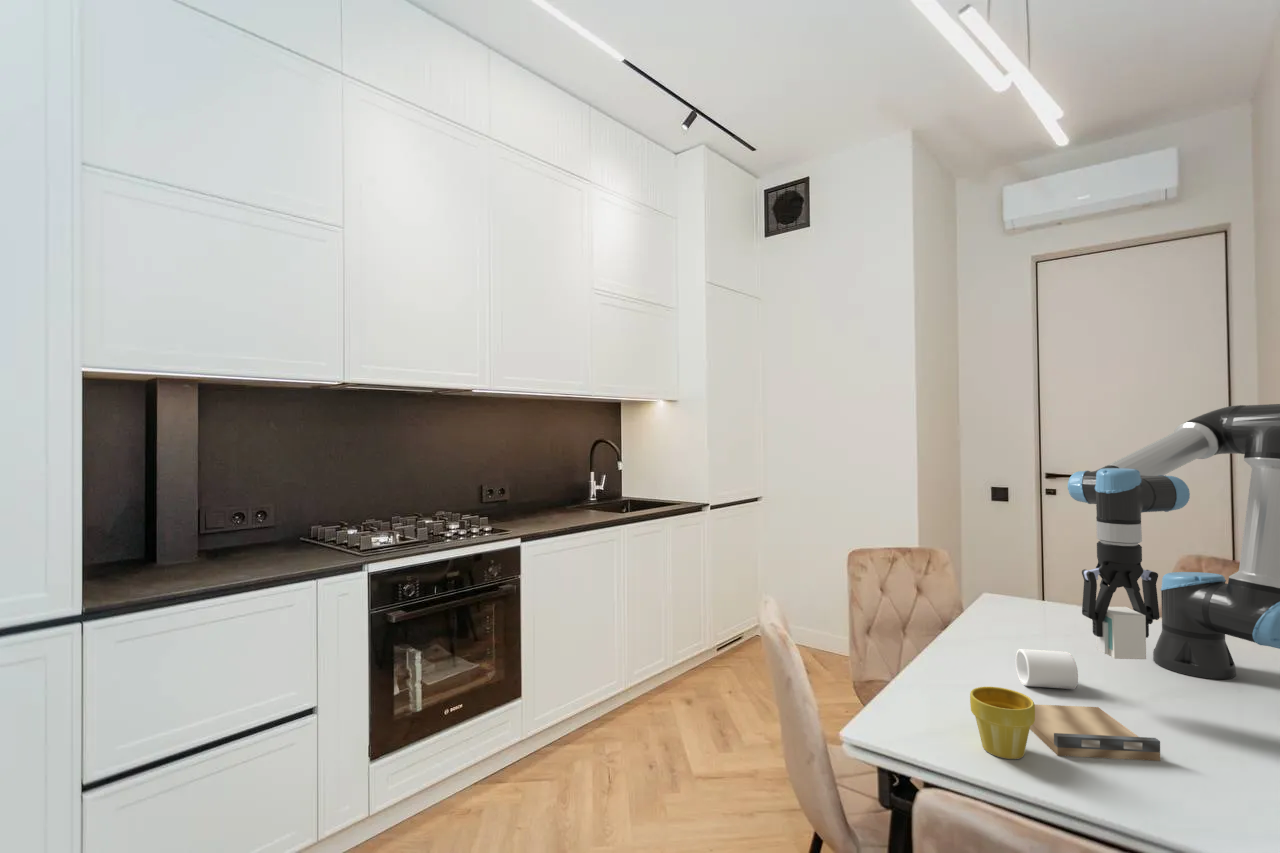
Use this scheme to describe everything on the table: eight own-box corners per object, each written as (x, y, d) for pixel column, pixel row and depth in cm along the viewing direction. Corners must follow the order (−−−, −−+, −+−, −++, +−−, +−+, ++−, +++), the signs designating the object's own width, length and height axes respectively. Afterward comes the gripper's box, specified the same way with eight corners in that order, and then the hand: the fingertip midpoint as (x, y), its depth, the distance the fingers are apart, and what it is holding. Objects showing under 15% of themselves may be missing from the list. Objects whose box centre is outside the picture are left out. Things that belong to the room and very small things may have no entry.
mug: (1078, 695, 138) (1078, 659, 138) (1029, 691, 140) (1028, 656, 140) (1054, 674, 150) (1054, 640, 150) (1008, 671, 152) (1008, 638, 152)
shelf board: (1098, 714, 128) (1098, 697, 128) (1160, 761, 110) (1160, 741, 110) (1010, 710, 130) (1010, 693, 130) (1058, 756, 112) (1057, 736, 112)
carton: (1127, 648, 133) (1127, 606, 133) (1147, 659, 127) (1146, 615, 127) (1096, 648, 134) (1095, 606, 134) (1113, 658, 128) (1112, 615, 128)
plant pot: (958, 737, 119) (958, 686, 119) (1009, 735, 120) (1009, 684, 120) (993, 767, 109) (993, 711, 109) (1049, 763, 110) (1049, 708, 110)
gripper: (1156, 538, 133) (1158, 646, 133) (1059, 538, 136) (1061, 644, 136) (1182, 545, 126) (1184, 659, 126) (1079, 545, 128) (1081, 657, 128)
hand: (1120, 651), depth 131 cm, fingers closed on carton, 6 cm apart
